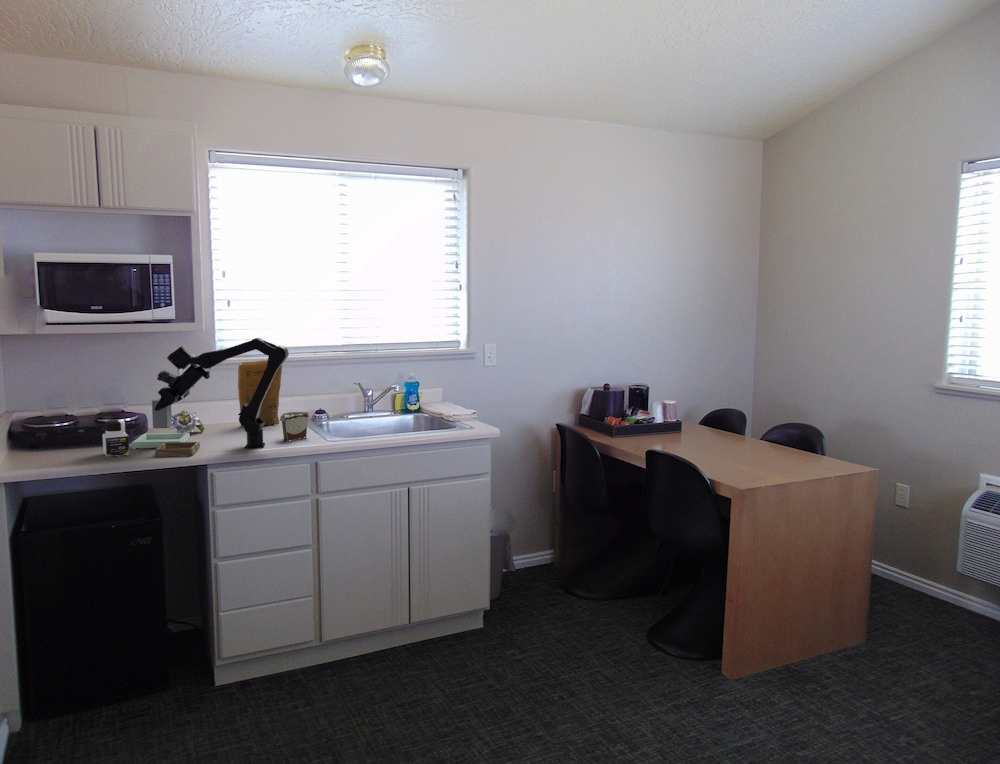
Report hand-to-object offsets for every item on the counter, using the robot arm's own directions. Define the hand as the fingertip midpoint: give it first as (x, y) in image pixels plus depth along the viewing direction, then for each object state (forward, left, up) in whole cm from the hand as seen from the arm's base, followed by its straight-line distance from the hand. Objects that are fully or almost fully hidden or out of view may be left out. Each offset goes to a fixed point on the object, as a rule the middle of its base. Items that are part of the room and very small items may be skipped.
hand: (157, 408), depth 264 cm
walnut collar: (+10, +9, -14) cm, 19 cm away
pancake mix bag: (-40, +31, -14) cm, 53 cm away
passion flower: (-26, +4, -14) cm, 30 cm away
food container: (-11, +46, -14) cm, 49 cm away
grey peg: (0, +1, -7) cm, 7 cm away
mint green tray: (-6, 0, -14) cm, 15 cm away
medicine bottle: (+10, -11, -14) cm, 21 cm away
